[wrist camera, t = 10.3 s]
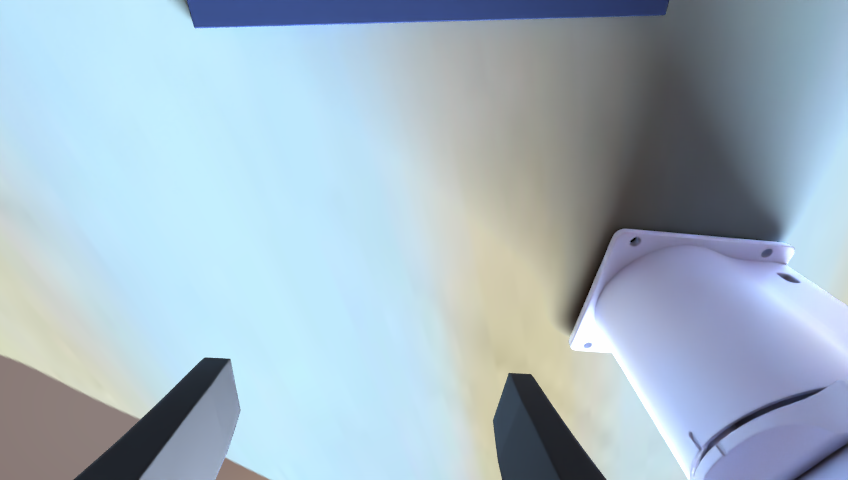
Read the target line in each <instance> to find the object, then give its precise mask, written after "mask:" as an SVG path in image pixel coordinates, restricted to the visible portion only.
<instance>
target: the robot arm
mask: <svg viewBox="0 0 848 480" xmlns="http://www.w3.org/2000/svg"><path fill="white" fill-rule="evenodd" d="M635 237H637V238H636V239H635V241H633V242H630V241H631V240H632V239H633V238H635ZM794 252H795V249H794V247H793V246H791V245H789V244H788V243H783V242H772V241H761V240H749V239H738V238H727V237H716V236H704V235H693V234H682V233H671V232H659V231H648V230H637V229H621V230H618V231H617V232H616V233H615V234H614V235H613V237H612V239H611V242H610V244H609V246H608V249H607V251H606V253H605V256H604V258H603V260H602V263H601V265H600V268H599V270H598V272H597V275H596V277H595V279H594V282H593V284H592V286H591V289H590V291H589V294H588V296H587V298H586V301H585V303H584V305H583V308H582V310H581V312H580V315H579V317H578V320H577V322H576V324H575V327H574V329H573V331H572V334H571V336H570V338H569V345H570V347H571V348H572V349H573V350H579V351H596V352H612V353H613V355H614V356H615V358H616V360H617V361H618V363H619V365H620V366H621V368H622V370H623V371H624V373H625V375H626V376H627V378H628V380H629V381H630V383H631V385H632V386H633V388H634V390H635V391H636V393H637V395H638V396H639V398H640V400H641V401H642V403H643V405H644V406H645V408H646V410H647V411H648V413H649V415H650V416H651V418H652V420H653V421H654V423H655V425H656V426H657V428H658V430H659V431H660V433H661V434H662V436H663V438H664V439H665V441H666V443H667V444H668V446H669V448H670V449H671V451H672V453H673V454H674V456H675V458H676V459H677V461H678V463H679V464H680V466H681V468H682V469H683V471H684V473H685V474H686V476H687V478H688V479H689V480H848V306H847V305H846V304H844V303H843V302H841V301H840V300H838V299H837V298H835V297H834V296H832V295H831V294H829V293H828V292H826V291H825V290H823V289H822V288H820V287H819V286H817V285H816V284H814V283H813V282H811V281H810V280H808V279H807V278H805V277H804V276H802V275H801V274H799V273H798V272H796V271H795V270H793V269H792V268H790V267H789V266H787V265H786V264H787V263H788V262H789V260H790V259H791V257H792V256H793V254H794ZM586 342H587V343H586ZM239 414H240V406H239V401H238V395H237V390H236V385H235V380H234V375H233V370H232V365H231V360H230V359H223V358H204V359H203V360H201V361H200V362H199V363H198V364H197V365H196V366H195V367H194V368H193V369H192V370H191V371H190V372H189V373H188V374H187V375H186V376H185V377H184V378H183V379H182V380H181V381H180V382H179V383H178V384H177V385H176V386H175V387H174V388H173V389H172V390H171V391H170V392H169V393H168V394H167V395H166V396H165V397H164V398H163V399H162V400H161V401H160V402H159V403H157V404H156V405H155V406H154V407H153V408H152V409H151V410H150V411H149V412H148V413H147V414H146V415H145V416H144V417H143V418H142V419H141V420H140V421H138V422H137V423H136V424H135V425H134V426H133V427H132V428H131V429H130V430H129V431H128V432H127V433H126V434H125V435H124V436H122V437H121V438H120V439H119V440H118V441H117V442H116V443H115V444H114V445H113V446H111V447H110V448H109V449H108V450H107V451H106V452H105V453H104V454H102V455H101V456H100V457H99V458H98V459H97V460H96V461H94V462H93V463H92V464H91V465H90V466H89V467H88V468H86V469H85V470H84V471H83V472H82V473H81V474H80V475H78V476H77V477H76V478H75V479H74V480H215V479H216V476H217V474H218V472H219V470H220V468H221V466H222V463H223V461H224V459H225V456H226V454H227V451H228V448H229V445H230V442H231V439H232V436H233V433H234V430H235V427H236V423H237V420H238V417H239ZM493 425H494V433H495V442H496V449H497V457H498V463H499V467H500V472H501V476H502V480H606V478H605V477H604V476H603V474H602V473H601V472H600V471H599V469H598V468H597V467H596V465H595V464H594V463H593V461H592V460H591V459H590V457H589V456H588V455H587V453H586V452H585V451H584V449H583V448H582V447H581V445H580V444H579V442H578V441H577V440H576V438H575V437H574V436H573V434H572V433H571V431H570V430H569V429H568V427H567V426H566V424H565V423H564V421H563V420H562V419H561V417H560V416H559V414H558V413H557V411H556V410H555V408H554V407H553V406H552V404H551V403H550V401H549V400H548V398H547V397H546V395H545V394H544V392H543V391H542V389H541V388H540V386H539V385H538V383H537V382H536V380H535V379H534V377H533V376H532V375H531V374H516V373H509V374H508V377H507V380H506V383H505V386H504V389H503V392H502V395H501V398H500V401H499V404H498V407H497V410H496V413H495V416H494V419H493Z"/></svg>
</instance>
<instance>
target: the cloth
mask: <svg viewBox="0 0 848 480" xmlns="http://www.w3.org/2000/svg"><path fill="white" fill-rule="evenodd" d="M187 3H188V7H189V10H190V14H191V17H192V21H193V24H194V27H195V28H219V27H255V26H292V25H328V24H365V23H401V22H438V21H474V20H510V19H547V18H583V17H620V16H656V15H665V14H666V10H667V7H668V3H669V0H187Z"/></svg>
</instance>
